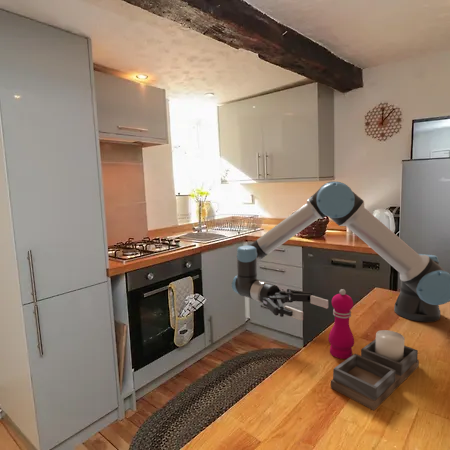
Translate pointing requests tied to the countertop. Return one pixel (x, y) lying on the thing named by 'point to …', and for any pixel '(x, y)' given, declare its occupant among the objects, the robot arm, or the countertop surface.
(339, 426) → the countertop surface
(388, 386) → the two-compartment tray
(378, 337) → the white glossy dome
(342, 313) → the pepper mill
